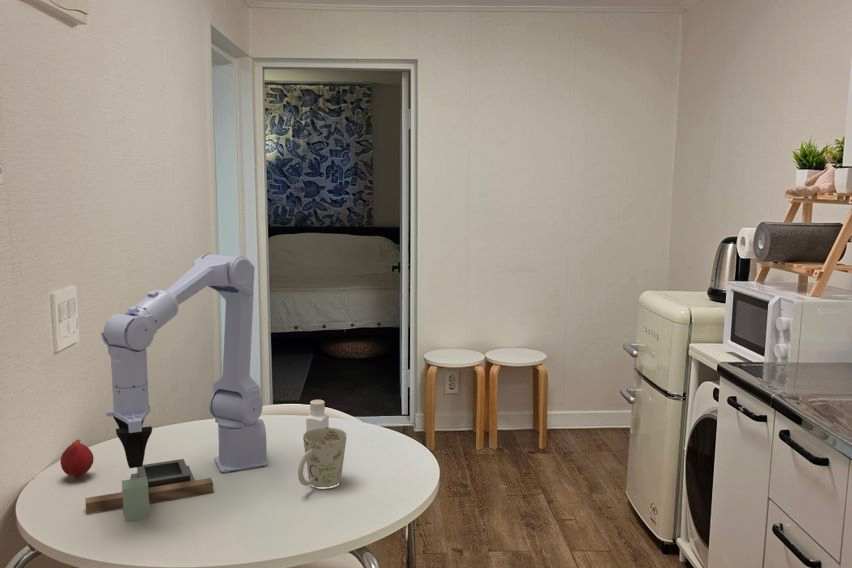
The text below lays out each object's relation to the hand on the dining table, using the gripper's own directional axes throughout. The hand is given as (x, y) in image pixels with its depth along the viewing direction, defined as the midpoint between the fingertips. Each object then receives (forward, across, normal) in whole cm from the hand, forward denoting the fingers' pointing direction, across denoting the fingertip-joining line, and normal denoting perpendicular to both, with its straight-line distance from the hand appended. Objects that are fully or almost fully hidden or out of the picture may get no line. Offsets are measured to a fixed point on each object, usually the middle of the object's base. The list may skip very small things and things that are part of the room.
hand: (133, 458), depth 130 cm
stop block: (+10, 0, 0) cm, 10 cm away
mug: (+11, +2, +33) cm, 35 cm away
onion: (+11, -21, -9) cm, 25 cm away
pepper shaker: (+11, -21, +40) cm, 46 cm away
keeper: (+10, -12, +6) cm, 17 cm away
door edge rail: (+10, -5, +3) cm, 12 cm away
